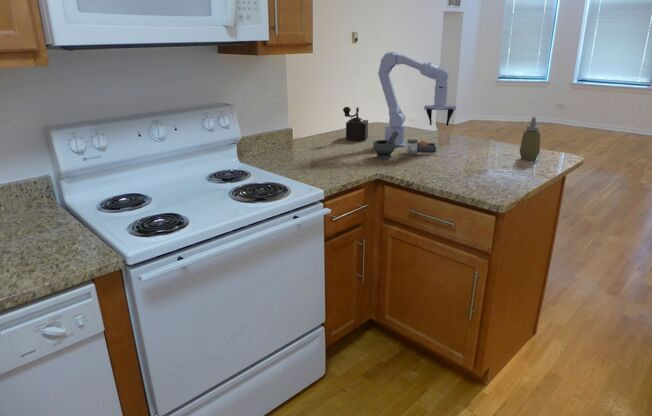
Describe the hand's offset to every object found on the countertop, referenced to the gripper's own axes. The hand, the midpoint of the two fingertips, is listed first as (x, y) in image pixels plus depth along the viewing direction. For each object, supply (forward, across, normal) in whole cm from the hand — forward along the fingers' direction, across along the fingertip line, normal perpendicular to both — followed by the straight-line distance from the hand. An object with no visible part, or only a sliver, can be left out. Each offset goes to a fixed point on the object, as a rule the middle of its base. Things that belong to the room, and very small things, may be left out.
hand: (438, 125), depth 224 cm
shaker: (+10, -12, -18) cm, 24 cm away
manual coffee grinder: (+11, -42, +11) cm, 45 cm away
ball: (+10, -6, -7) cm, 14 cm away
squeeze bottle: (+11, +38, -20) cm, 44 cm away
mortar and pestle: (+11, -23, -24) cm, 35 cm away
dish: (+10, -6, -7) cm, 14 cm away
